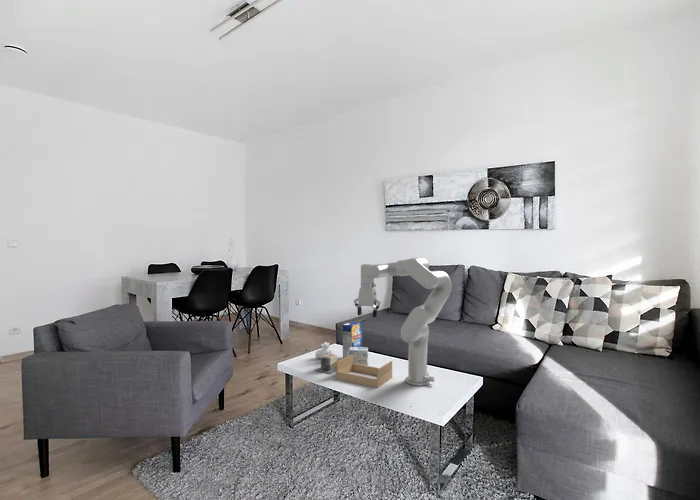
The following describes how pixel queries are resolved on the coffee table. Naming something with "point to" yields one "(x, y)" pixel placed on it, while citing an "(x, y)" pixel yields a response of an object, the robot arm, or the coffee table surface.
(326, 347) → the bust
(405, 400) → the coffee table surface
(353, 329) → the blue yellow food box
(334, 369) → the grey mat
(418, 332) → the robot arm
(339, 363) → the carton
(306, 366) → the coffee table surface
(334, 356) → the block
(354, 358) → the light bulb box
